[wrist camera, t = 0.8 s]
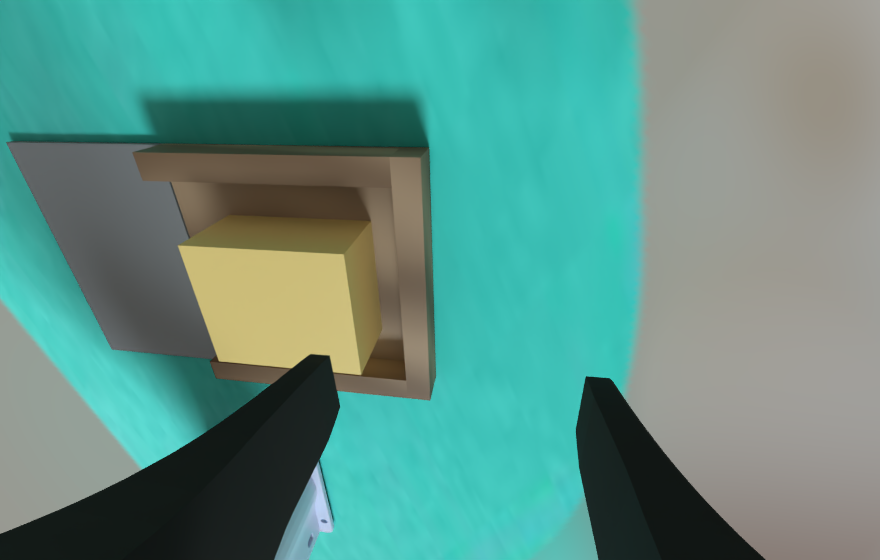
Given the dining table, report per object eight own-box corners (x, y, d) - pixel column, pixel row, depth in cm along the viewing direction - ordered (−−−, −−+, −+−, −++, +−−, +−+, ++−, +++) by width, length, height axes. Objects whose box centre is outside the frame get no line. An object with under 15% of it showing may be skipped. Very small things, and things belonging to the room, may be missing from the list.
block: (382, 329, 22) (361, 375, 19) (258, 319, 23) (219, 361, 20) (371, 220, 19) (343, 254, 16) (229, 214, 20) (177, 245, 17)
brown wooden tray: (435, 376, 23) (430, 400, 22) (234, 357, 25) (215, 378, 23) (429, 147, 17) (420, 157, 15) (163, 143, 19) (132, 152, 17)
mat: (233, 357, 25) (230, 360, 25) (115, 346, 26) (111, 349, 26) (161, 143, 19) (156, 144, 19) (12, 141, 20) (6, 142, 20)
